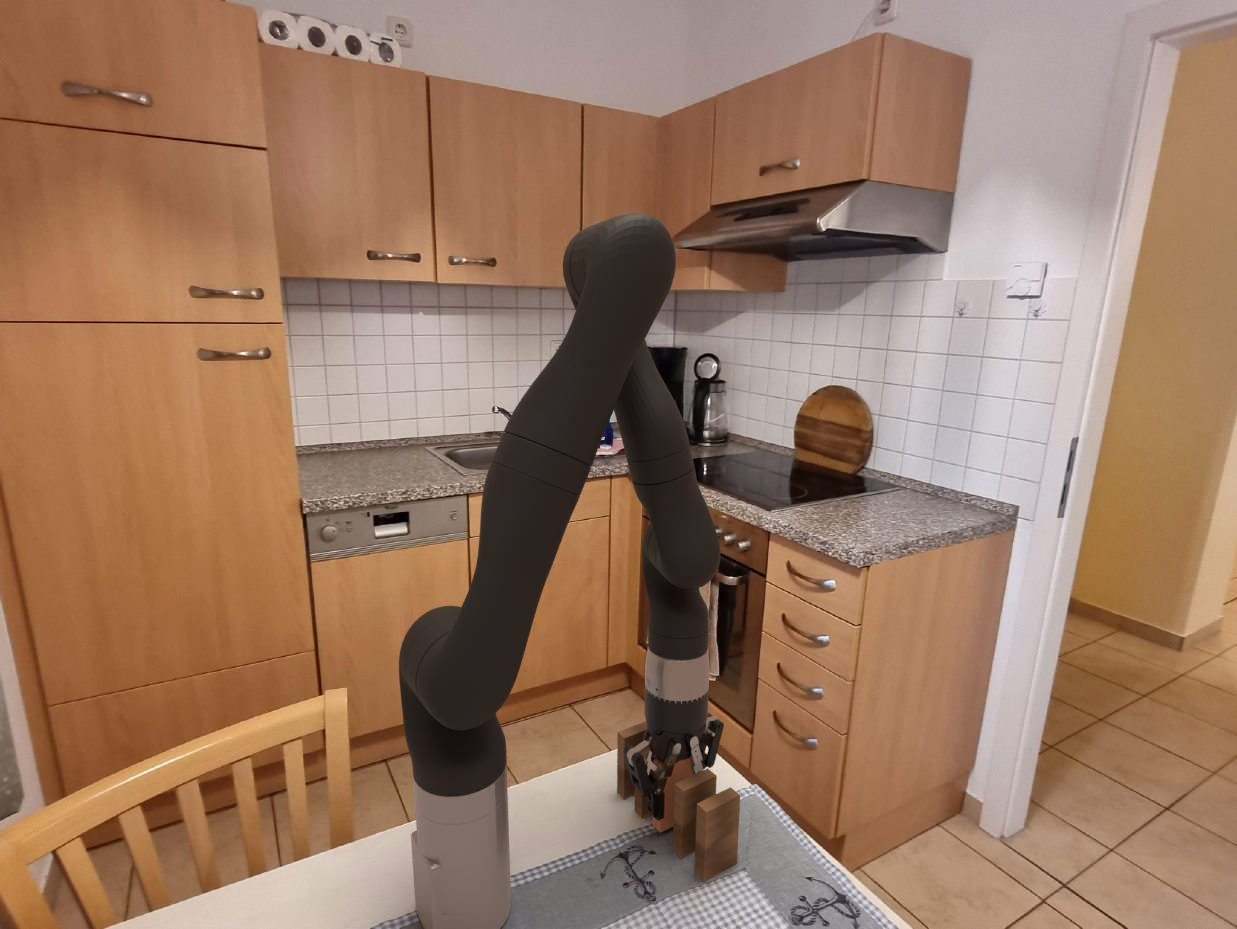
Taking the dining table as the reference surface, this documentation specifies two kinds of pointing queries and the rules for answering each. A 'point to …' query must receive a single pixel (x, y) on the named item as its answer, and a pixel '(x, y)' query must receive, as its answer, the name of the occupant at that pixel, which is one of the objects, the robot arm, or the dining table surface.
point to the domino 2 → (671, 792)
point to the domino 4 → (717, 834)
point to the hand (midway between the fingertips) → (673, 807)
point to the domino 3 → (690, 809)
